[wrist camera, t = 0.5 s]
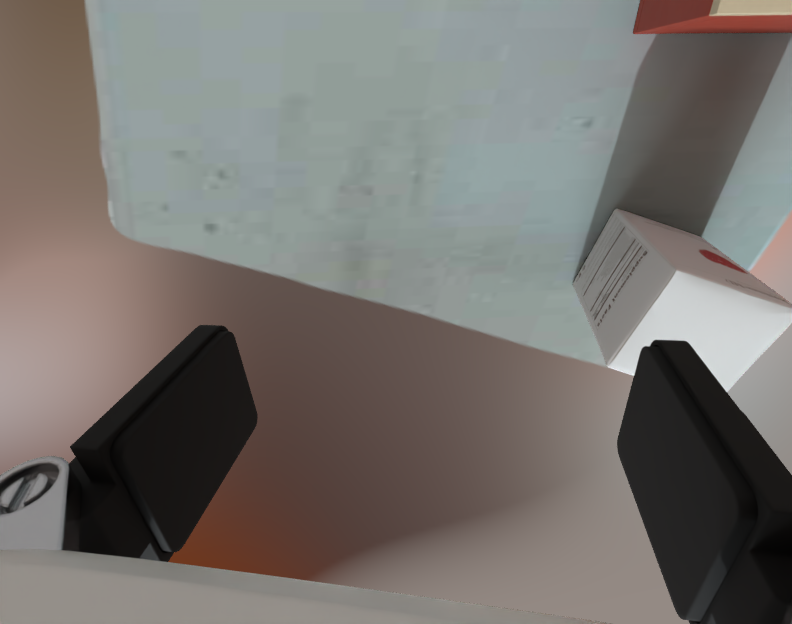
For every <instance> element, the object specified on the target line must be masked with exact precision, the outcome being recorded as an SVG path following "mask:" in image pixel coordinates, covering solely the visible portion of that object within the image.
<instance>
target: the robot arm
mask: <svg viewBox="0 0 792 624" xmlns="http://www.w3.org/2000/svg"><path fill="white" fill-rule="evenodd" d="M256 424H257V411H256V408H255V404H254V401H253V398H252V394H251V391H250V387H249V384H248V381H247V377H246V374H245V371H244V367H243V364H242V360H241V357H240V354H239V350H238V347H237V343H236V340H235V337H234V335H233V333H232V332H229V331H228V329H227V328H226V327H224V326H215V325H200V326H198V327H197V328H195V329H194V331H192V332H191V333H190V334H189V335H188V336H187V337H186V338H185V339H184V340H183V341H182V342H181V343H180V344H179V345H177V346H176V347H175V348H174V349H173V350H172V351H171V352H170V353H169V354H168V355H167V356H166V357H165V358H164V359H163V360H162V361H161V362H160V363H158V364H157V365H156V366H155V367H154V368H153V369H152V370H151V371H150V372H149V373H148V374H147V375H146V376H145V377H144V378H143V379H141V380H140V381H139V382H138V383H137V384H136V385H135V386H134V387H133V388H132V389H131V390H130V391H129V392H128V393H127V394H126V395H124V396H123V397H122V398H121V399H120V400H119V401H118V402H117V403H116V404H115V405H114V406H113V407H112V408H111V409H110V410H109V411H108V412H107V413H106V414H104V415H103V416H102V417H101V418H100V419H99V420H98V421H97V422H96V423H95V424H94V425H93V426H92V427H91V428H89V429H88V430H87V431H86V432H85V433H84V434H83V435H82V436H81V437H80V438H79V439H78V440H77V441H76V442H75V443H74V444H73V445H71V446H70V448H71V449H72V451H73V453H74V455H75V456H76V457H75V458H74V459H73V460H72V461H71V462H70V463H69V464H68V462H67V461H66V460H64V459H63V458H61V457H55V456H48V457H40V458H36V459H33V460H30V461H27V462H24V463H22V464H20V465H18V466H15V467H13V468H12V469H10V470H8V471H6V472H5V473H3V474H1V475H0V624H611V623H604V622H597V621H591V620H584V619H576V618H570V617H563V616H556V615H549V614H542V613H535V612H528V611H521V610H514V609H507V608H500V607H493V606H485V605H479V604H471V603H465V602H457V601H451V600H444V599H436V598H429V597H422V596H415V595H407V594H401V593H393V592H386V591H379V590H371V589H364V588H357V587H350V586H342V585H334V584H328V583H320V582H313V581H305V580H298V579H291V578H283V577H276V576H269V575H261V574H254V573H246V572H238V571H230V570H223V569H216V568H208V567H200V566H193V565H185V564H177V563H169V562H168V561H169V560H170V558H171V556H172V555H173V553H174V552H177V551H179V550H180V549H181V548H182V547H183V545H184V544H185V542H186V541H187V539H188V537H189V536H190V534H191V533H192V531H193V529H194V527H195V526H196V524H197V523H198V521H199V519H200V518H201V516H202V514H203V513H204V511H205V509H206V508H207V506H208V504H209V503H210V501H211V500H212V498H213V496H214V495H215V493H216V491H217V490H218V488H219V486H220V485H221V483H222V482H223V480H224V478H225V477H226V475H227V473H228V472H229V470H230V468H231V467H232V465H233V463H234V462H235V460H236V458H237V457H238V455H239V454H240V452H241V450H242V449H243V447H244V445H245V444H246V441H247V440H248V439H249V437H250V435H251V434H252V432H253V430H254V429H255V427H256ZM617 446H618V454H619V457H620V460H621V463H622V465H623V468H624V471H625V474H626V476H627V479H628V481H629V484H630V487H631V489H632V493H633V495H634V498H635V501H636V503H637V506H638V509H639V512H640V515H641V517H642V520H643V523H644V526H645V528H646V531H647V534H648V537H649V539H650V542H651V545H652V547H653V550H654V553H655V556H656V558H657V561H658V564H659V567H660V569H661V572H662V575H663V577H664V580H665V583H666V586H667V589H668V591H669V594H670V596H671V599H672V602H673V605H674V607H675V610H676V612H677V614H678V615H679V617H680V618H681V619H684V620H689V623H690V624H792V475H791V474H790V472H789V471H788V470H787V469H786V467H785V466H784V465H783V463H782V462H781V461H780V459H779V458H778V457H777V456H776V454H775V453H774V452H773V450H772V449H771V448H770V446H769V445H768V444H767V442H766V441H765V440H764V439H763V437H762V436H761V435H760V433H759V432H758V431H757V429H756V428H755V427H754V426H753V424H752V423H751V422H750V420H749V419H748V418H747V416H746V415H745V414H744V413H743V412H742V411H741V410H740V409H739V408H738V406H737V405H736V404H735V403H734V401H733V400H732V399H731V398H730V396H729V395H728V393H727V392H726V391H725V389H724V388H723V387H722V386H721V384H720V383H719V382H718V380H717V379H716V378H715V376H714V375H713V374H712V372H711V371H710V370H709V368H708V367H707V366H706V365H705V363H704V362H703V361H702V359H701V358H700V357H699V355H698V354H697V353H696V351H695V350H694V349H693V348H692V346H691V345H690V344H689V343H688V342H687V341H680V340H654V341H653V342H652V343H651V345H650V346H644V347H643V348H642V349H641V352H640V355H639V359H638V363H637V367H636V371H635V375H634V378H633V382H632V386H631V390H630V394H629V397H628V401H627V405H626V409H625V413H624V416H623V420H622V424H621V428H620V432H619V436H618V440H617Z"/></svg>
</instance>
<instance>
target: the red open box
mask: <svg viewBox="0 0 792 624" xmlns="http://www.w3.org/2000/svg"><path fill="white" fill-rule="evenodd" d="M712 4H713V0H640V5H639V9H638V13H637V18H636V22H635V26H634V31H633V33H634V34H672V33H792V15H750V16H709V14H710V10H711V7H712Z"/></svg>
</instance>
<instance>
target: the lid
mask: <svg viewBox="0 0 792 624" xmlns="http://www.w3.org/2000/svg"><path fill="white" fill-rule="evenodd" d="M750 15H792V0H713V4H712V7H711V10H710V14H709V16H750Z"/></svg>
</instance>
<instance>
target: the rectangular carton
mask: <svg viewBox="0 0 792 624" xmlns="http://www.w3.org/2000/svg"><path fill="white" fill-rule="evenodd" d="M573 287H574V289H575V291H576V293H577V296H578V298H579V301H580V303H581V305H582V308H583V310H584V312H585V315H586V317H587V319H588V322H589V324H590V326H591V329H592V331H593V333H594V336H595V338H596V340H597V343H598V345H599V348H600V350H601V352H602V355H603V357H604V360H605V362H606V365H607V367H609V368H612V369H615V370H618V371H621V372H624V373H627V374H630V375H633V376H634V375H635V371H636V367H637V363H638V359H639V355H640V352H641V349H642V348H643V347H644V346H650V345H651V343H652V342H653V341H654V340H680V341H687V342H688V343H689V344H690V345H691V346H692V348H693V349H694V350H695V351H696V353H697V354H698V355H699V357H700V358H701V359H702V361H703V362H704V363H705V365H706V366H707V367H708V368H709V370H710V371H711V372H712V374H713V375H714V376H715V378H716V379H717V380H718V382H719V383H720V384H721V386H722V387H723V388H724V389H725V391H726V392H728V391H729V389H730V388H731V387H732V386H733V385H734V384H735V383H736V382H737V381H738V379H739V378H740V377H741V376H742V375H743V374H744V373H745V372H746V371H747V370H748V369H749V368H750V366H751V365H752V364H753V363H754V362H755V361H756V360H757V359H758V358H759V357H760V356H761V355H762V354H763V353H764V352H765V351H766V350H767V349H768V348H769V347H770V346H771V345H772V343H773V342H774V341H775V340H776V339H777V338H778V337H779V336H780V335H781V334H782V333H783V332H784V331H785V330H786V329H787V328H788V326H789V325H790V324H791V323H792V304H791V303H790V302H789V301H787V300H786V299H784V298H783V297H782V296H780V295H779V294H778V293H776V292H775V291H774V290H772V289H771V288H770V287H768V286H767V285H766V284H764V283H763V282H761V281H760V280H759V279H757V278H756V277H754V276H753V275H752V274H750V273H749V272H748V271H746V270H745V269H744V268H742V267H741V266H740V265H738V264H737V263H735V262H734V261H733V260H731V259H730V258H729V257H727V256H726V255H725V254H723V253H722V252H721V251H719V250H718V249H717V248H715V247H714V246H713V245H711V244H710V243H708V242H707V241H706V240H705V239H703V238H702V237H700V236H697V235H694V234H692V233H689V232H686V231H683V230H680V229H677V228H674V227H671V226H668V225H665V224H662V223H659V222H657V221H654V220H651V219H648V218H645V217H642V216H639V215H636V214H633V213H630V212H627V211H624V210H621V209H615V210H614V211H613V213H612V215H611V217H610V218H609V220H608V222H607V224H606V225H605V227H604V229H603V231H602V233H601V234H600V236H599V238H598V240H597V241H596V243H595V245H594V247H593V249H592V250H591V252H590V254H589V256H588V257H587V259H586V261H585V263H584V265H583V266H582V268H581V270H580V272H579V273H578V275H577V277H576V279H575V281H574V282H573Z"/></svg>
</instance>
